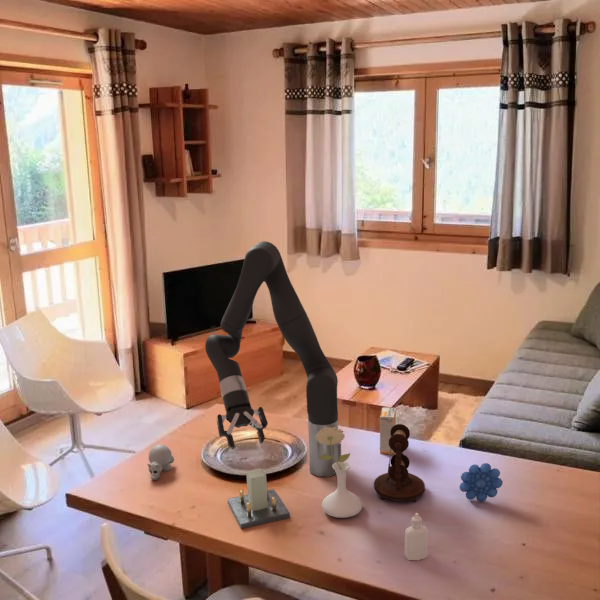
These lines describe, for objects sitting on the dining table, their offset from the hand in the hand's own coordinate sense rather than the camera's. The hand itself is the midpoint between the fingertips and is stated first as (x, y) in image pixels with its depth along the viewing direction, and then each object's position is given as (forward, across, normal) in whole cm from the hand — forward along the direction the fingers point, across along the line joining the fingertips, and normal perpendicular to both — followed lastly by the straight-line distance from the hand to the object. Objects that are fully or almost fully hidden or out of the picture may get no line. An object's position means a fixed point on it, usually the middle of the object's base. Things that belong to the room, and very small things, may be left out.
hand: (247, 445), depth 195 cm
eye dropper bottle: (+43, +30, -19) cm, 56 cm away
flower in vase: (+24, +21, 0) cm, 32 cm away
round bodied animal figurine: (-6, -22, +30) cm, 38 cm away
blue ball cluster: (+32, +60, -8) cm, 68 cm away
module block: (+16, 0, +5) cm, 17 cm away
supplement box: (+4, +51, +20) cm, 55 cm away
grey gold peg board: (+17, 0, +6) cm, 18 cm away
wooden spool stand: (+23, +41, +2) cm, 47 cm away
